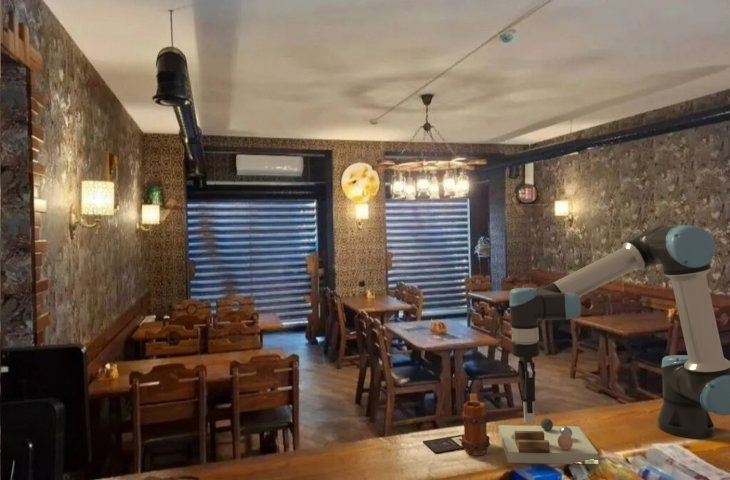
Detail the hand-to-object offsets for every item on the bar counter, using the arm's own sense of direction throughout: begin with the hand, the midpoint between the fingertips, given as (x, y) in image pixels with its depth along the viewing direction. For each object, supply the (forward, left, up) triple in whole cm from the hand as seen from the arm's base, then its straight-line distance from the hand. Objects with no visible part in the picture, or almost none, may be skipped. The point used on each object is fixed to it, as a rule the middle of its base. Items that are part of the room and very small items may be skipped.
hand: (529, 422), depth 148 cm
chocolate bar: (+21, -5, -9) cm, 24 cm away
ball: (-10, -2, -4) cm, 11 cm away
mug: (+16, -1, -9) cm, 18 cm away
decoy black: (-6, -9, -4) cm, 12 cm away
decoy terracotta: (-8, +5, -3) cm, 11 cm away
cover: (+1, +5, -5) cm, 7 cm away
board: (-4, -2, -8) cm, 10 cm away
